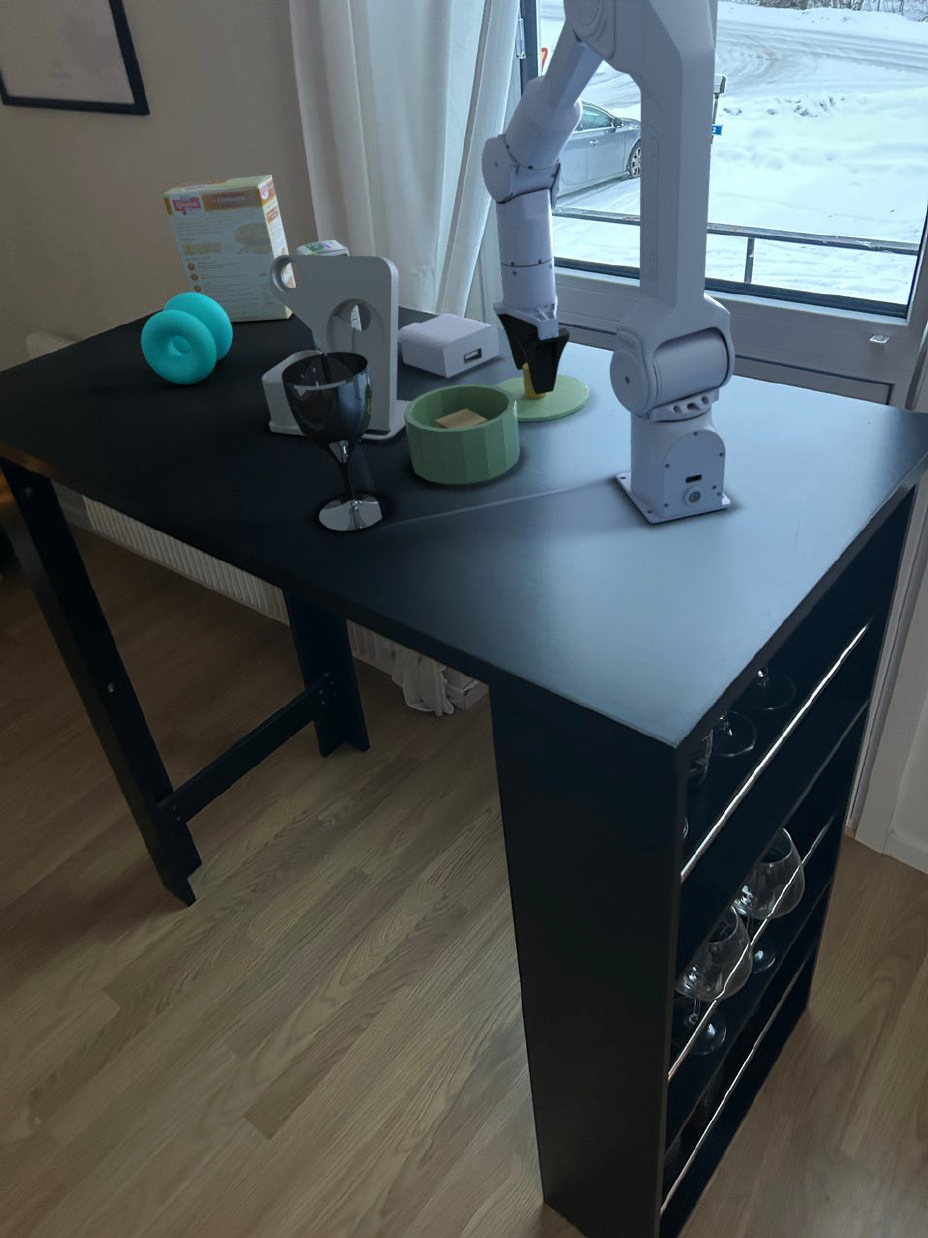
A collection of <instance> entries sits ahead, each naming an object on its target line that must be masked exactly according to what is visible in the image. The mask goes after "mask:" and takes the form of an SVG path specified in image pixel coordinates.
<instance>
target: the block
mask: <svg viewBox="0 0 928 1238" xmlns="http://www.w3.org/2000/svg"><path fill="white" fill-rule="evenodd" d="M487 421H488V420H487V419H485V418H483V417H482V416H480V415H478V414H476V413H474V412H472V411H470V410H469V409H467V408H466V409H463V410H461V411H458V412H456V413H453V414H450V415H448V416H445V417H442V418H440V419H437V420H435V424H436V428H441V429H449V428H464V427H469V426H474V425H479V424H482V423H485V422H487Z"/></svg>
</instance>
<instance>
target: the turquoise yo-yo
mask: <svg viewBox="0 0 928 1238" xmlns="http://www.w3.org/2000/svg"><path fill="white" fill-rule="evenodd" d="M233 337H234V336H233V327H232V322H230V320H229V318H228V316H227V314H226V313H225V311H224V310H223V308H222V307H221V306H220V305H219V304H218V303H217V302H215V301H214V300H213V299H211V298H209V297H207V296H205V295H203V294H199V293H193V292H190V291H187V292H182V293H179V294H177V295H174V296H173V297H171V298H170V299H169V300H168V301H167V302H166V303H165V305H164V306H163V309H162V310H161V311H159V312H157V313H155V314H153V315H152V316H151V317H150V318H149V319H148V320H147V321H146V323H145V324H144V326H143V328H142V332H141V336H140V344H141V349H142V354H143V355H144V359H145V360H146V362H147V364H148V365H149V367H151V369H152V370H153V371H154V372H155V373H156V374H157V375H159V376H160V377H161V378H163V379H165V380H166V381H169V382H171V383H174V384H178V385H184V386H185V385H186V386H187V385H194V384H197V383H199V382H202V381H204V380H205V379H206V378H208V376H209V375H211V373H212V372H213V371H214V368H215V366H216V362H218V361H220V360H222V359H223V358H224V357H225V356H226V355H227V354H228V352H229V351H230V349H231V346H232V343H233Z"/></svg>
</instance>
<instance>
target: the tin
mask: <svg viewBox="0 0 928 1238" xmlns="http://www.w3.org/2000/svg"><path fill="white" fill-rule="evenodd" d="M411 401H412V402H410V403H409V404H408V406H407V408H406V410H405V412H404V418H405V424H406V425H405V430H406V438H407V442H408V449H409V455H410V462H411V466H412V468H413V471H414V473H415V474H416V475H417V476H419V477H421V478H423V479H425V480H426V481H429V482H433V483H438V484H441V485H468V484H473V483H478V482H479V483H480V482H484V481H488V480H491V479H494V478H495V477H497V476H500V475H502V474H505V473H507V472H508V471H509V470H510V469H511V468H512V467H514V466H515V465H516V464H517V463H518V462H519V459H520V454H521V445H520V434H519V422H518V419H517V407H516V400H515V398H514V397H513V395H512V394H511V393H510V392H509V391H507V390H504V389H502V388H500V387H497V386H495V385H491V384H485V383H464V384H463V383H462V384H461V383H460V384H454V385H449V386H443V387H437V388H436V389H432V390H430V391H428V392H425V393H422V394H420V395H418V396H417V397H416V398H414V399H413V400H411ZM466 408H467V409H469V410H470V411H472V412H474V413H476V414H478V415H480V416H482V417H483V418H485V419H487V420H488V421H487V422H485V423H482V424H479V425H474V426H469V427H464V428H449V429H441V428H436V424H435V420H437V419H440V418H442V417H445V416H448V415H450V414H453V413H456V412H458V411H461V410H463V409H466Z"/></svg>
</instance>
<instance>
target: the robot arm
mask: <svg viewBox="0 0 928 1238" xmlns="http://www.w3.org/2000/svg"><path fill="white" fill-rule="evenodd" d="M562 1H563V11H564V18H565V19H564V23H563V25H562V28H561V31H560V34H559V36H558V39H557V42H556V44H555V47H554V49H553V52H552V55H551V58H550V60H549V63H548V66H547V68H546V71H545V73H544V74H542V75H539V76H536V77H534V78H533V79H529V80H527V83H526V85H525V87H524V91H523V93H522V95H521V97H520V100H519V101H518V104H517V106H516V108H515V110H514V112H513V114H512V117H511V118H510V120H509V123H508V125H507V126H506V130H505V131H504V133H499V134H498V135H497V136H492V137H489V138H487V139H486V141H485V142H484V147H483V149H482V153H481V172H482V177H483V182H484V185H485V187H486V190H487V192H488V194H489V196H490V197H491V198H492V199H493V200H494V201H495V212H496V213H495V215H496V223H497V224H496V226H497V237H498V251H499V262H500V263H499V264H500V277H501V287H502V288H501V289H502V300H501V301H498V302H494V303H493V304H492V309H493V312H494V313H495V314H496V316H497V318H498V320H499V321H500V323H501V326H502V327H503V330H504V332H505V335H506V337H507V338H506V339H507V341H508V344H509V348H510V352H511V356H512V359H513V361H514V362H513V363H514V365H515V367H516V369H517V370H518V371H521V370H523V365H524V364H525V363H527V364H528V368H529V373H530V378H531V383H532V386H533V389H534V392H535V393H536V394H542V393H547V392H552V391H553V390H554V386H555V382H556V376H557V374H558V370H559V365H560V362H561V358H562V354H563V352H564V350H565V348H566V345H567V344H568V342H569V340H570V336H571V332H570V331H569V329H567V327H561V328H559V319H558V317H557V311H558V304H559V303H558V301H559V300H558V296H557V294H556V276H555V258H554V257H555V256H554V236H553V234H554V233H553V216H552V212H553V210H555V209H556V205H557V203H558V202H557V190H558V186H559V184H560V181H561V176H562V162H561V161H560V156H561V155H562V153H563V151H564V150H565V148H566V146H567V144H568V142H569V140H570V139H571V137H572V135H573V134H574V132H575V130H576V129H577V127H578V125H579V123H580V121H581V119H582V115H583V104H582V100H581V96H582V93H583V92H584V91H585V89H586V88H587V86H588V85H589V84H590V82H591V81H592V79H593V77H594V76H595V75H596V73H597V71H598V70H599V68H600V67H601V65H603V63H604V62H605V63H607V64H608V65H609V66H610V67H611V68H612V69H614V71H616V72H619V73H623V74H626V75H629V77H630V78H631V80H632V81H633V82H634V83H635V85H636V86H637V87H638V89H639V92H640V138H639V139H640V140H639V141H640V143H639V144H640V147H639V148H640V149H639V150H640V154H639V156H640V158H639V159H640V160H639V164H640V165H639V167H640V169H639V295H638V298H637V299H636V300H635V302H634V303H633V305H632V306H630V308H629V309H628V310H627V312H626V313H625V314H624V316H623V317H622V318H621V319H620V320H619V321H618V323H617V324H616V327H615V346H614V350H613V353H612V356H611V359H610V364H609V379H610V384H611V388H612V392H613V394H614V396H615V397H616V399H617V401H618V402H619V403H620V405H621V406H623V407H624V408H625V410H626V411H628V412H629V413H630V471H627V472H621V473H618V474H616V475H615V480H616V481H617V482H618V484H619V485H620V486H621V488H622V489H623V490H624V492H625V493H626V494H627V495H628V497H629V498H630V499H631V501H632V502H633V503H634V504H635V506H636V507H637V508H638V510H639V511H640V512H641V513H642V514H643V516H644V517H645V518H646V520H647V521H648V522H649V523H651V524H658V523H663V522H667V521H672V520H676V519H677V520H678V519H681V518H685V517H690V516H695V515H700V514H705V513H708V512H709V513H710V512H714V511H718V510H723V509H727V508H730V507H731V506H732V500H731V499H730V498H729V497H728V496H727V495H726V494H725V493H724V483H725V482H724V481H725V468H726V467H725V466H726V446H725V442H724V440H723V438H722V437H721V435H720V434H719V432H718V431H717V430H716V428H715V425H714V423H713V417H712V405H713V404H714V403H715V402H717V401H719V400H720V389H721V388H723V387H725V386H727V384H728V383H729V382H730V380H731V379H732V377H733V374H734V371H735V365H736V363H735V362H736V353H735V347H734V343H733V340H732V336H731V313H730V311H729V310H727V308H726V307H725V306H723V305H722V304H721V303H720V302H719V301H717V300H716V299H714V298H713V297H711V296H709V295H708V294H706V293H705V286H706V285H705V284H706V283H705V282H706V264H707V262H706V261H707V241H708V221H709V219H708V218H709V202H710V201H709V199H710V181H711V180H710V179H711V158H712V157H711V156H712V137H713V136H712V135H713V114H714V95H715V94H714V93H715V72H716V48H717V32H718V31H717V30H718V10H719V9H718V8H719V0H562Z"/></svg>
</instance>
